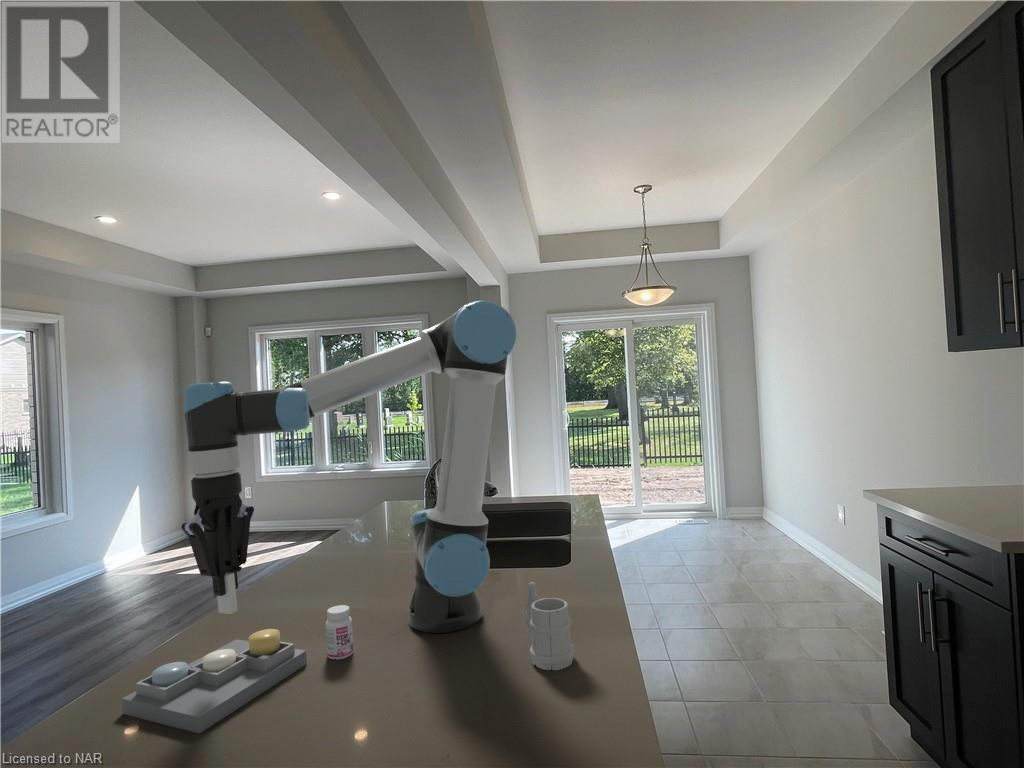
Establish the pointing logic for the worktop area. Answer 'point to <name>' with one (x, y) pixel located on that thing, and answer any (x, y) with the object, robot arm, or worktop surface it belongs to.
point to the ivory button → (219, 660)
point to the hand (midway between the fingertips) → (228, 611)
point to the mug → (549, 631)
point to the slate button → (169, 674)
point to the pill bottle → (339, 632)
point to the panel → (213, 688)
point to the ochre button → (264, 642)
